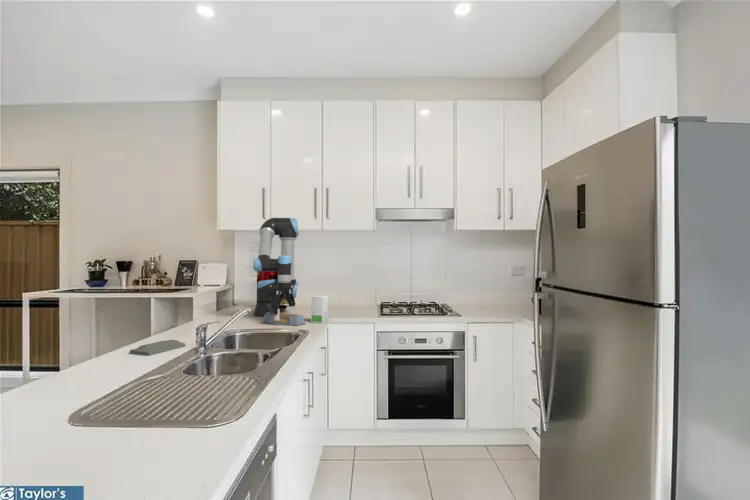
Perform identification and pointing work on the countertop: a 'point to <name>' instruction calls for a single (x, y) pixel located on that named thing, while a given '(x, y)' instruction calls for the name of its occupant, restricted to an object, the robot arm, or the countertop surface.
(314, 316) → the skincare box
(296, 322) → the endcap rail
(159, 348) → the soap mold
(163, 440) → the countertop surface
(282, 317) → the brown long rectangular block
